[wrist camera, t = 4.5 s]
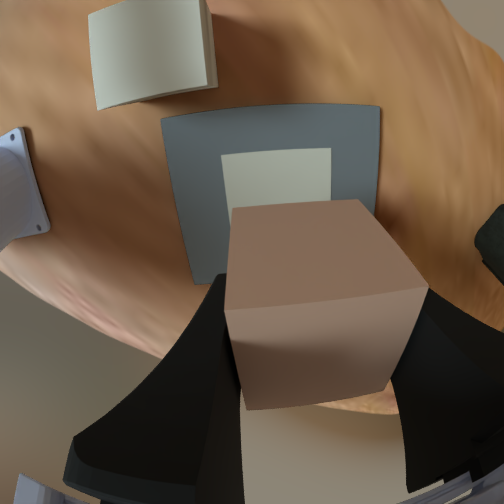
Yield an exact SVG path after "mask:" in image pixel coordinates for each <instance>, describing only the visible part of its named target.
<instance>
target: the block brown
mask: <svg viewBox="0 0 504 504" xmlns="http://www.w3.org/2000/svg"><path fill="white" fill-rule="evenodd" d="M428 288H429V285H428V283H427V282H426V281H425V279H424V278H423V277H422V275H421V274H420V273H419V271H418V270H417V269H416V267H415V266H414V265H413V263H412V262H411V261H410V260H409V258H408V257H407V256H406V254H405V253H404V252H403V251H402V249H401V248H400V247H399V246H398V245H397V243H396V242H395V241H394V240H393V238H392V237H391V236H390V235H389V234H388V232H387V231H386V230H385V229H384V228H383V227H382V225H381V224H380V223H379V222H378V221H377V220H376V218H375V217H374V216H373V215H372V214H371V213H370V212H369V211H368V209H367V208H366V207H365V206H364V205H363V204H362V203H361V202H360V201H359V200H358V199H350V200H330V201H313V202H298V203H284V204H271V205H259V206H247V207H236V208H232V218H231V229H230V241H229V253H228V265H227V278H226V292H225V306H224V312H225V316H226V321H227V326H228V331H229V335H230V340H231V345H232V349H233V354H234V358H235V363H236V367H237V371H238V376H239V380H240V384H241V389H242V393H243V397H244V401H245V405H246V409H247V410H263V409H275V408H285V407H295V406H303V405H310V404H318V403H324V402H331V401H337V400H342V399H347V398H353V397H358V396H362V395H367V394H371V393H376V392H380V391H384V389H385V387H386V385H387V383H388V381H389V380H390V378H391V376H392V374H393V372H394V370H395V368H396V366H397V364H398V361H399V359H400V357H401V355H402V353H403V351H404V349H405V346H406V344H407V342H408V340H409V337H410V335H411V333H412V330H413V328H414V325H415V323H416V320H417V318H418V315H419V313H420V310H421V307H422V305H423V302H424V299H425V297H426V294H427V291H428Z"/></svg>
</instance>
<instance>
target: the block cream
mask: <svg viewBox="0 0 504 504" xmlns="http://www.w3.org/2000/svg"><path fill="white" fill-rule="evenodd" d="M88 21H89V41H90V54H91V65H92V74H93V82H94V90H95V97H96V104H97V110H102V109H106V108H111V107H116V106H121V105H126V104H131V103H137V102H142V101H146V100H150V99H154V98H159V97H164V96H168V95H174V94H179V93H184V92H190V91H196V90H203V89H210V88H217V87H219V85H218V76H217V67H216V57H215V47H214V37H213V27H212V17H211V12H210V10H209V7H208V5H207V3H206V1H205V0H126V1H123V2H120V3H117V4H114V5H112V6H109V7H106V8H104V9H101V10H99V11H96V12H94V13H92V14H89V15H88Z"/></svg>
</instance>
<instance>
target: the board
mask: <svg viewBox="0 0 504 504" xmlns="http://www.w3.org/2000/svg"><path fill="white" fill-rule="evenodd" d="M160 120H161V127H162V133H163V139H164V145H165V151H166V156H167V162H168V167H169V173H170V178H171V183H172V188H173V193H174V198H175V203H176V208H177V212H178V217H179V221H180V226H181V230H182V235H183V239H184V243H185V248H186V252H187V256H188V260H189V264H190V268H191V272H192V276H193V280H194V284H195V285H198V284H212V283H213V281H214V279H215V277H216V276H217V275H218V274H222V273H227V265H228V253H229V241H230V229H231V218H232V208H236V207H247V206H259V205H271V204H284V203H298V202H313V201H330V200H350V199H358V200H359V201H360V202H361V203H362V204H363V205H364V206H365V207H366V208H367V209H368V211H369V212H370V213H371V214H372V215H373V216H374V210H375V200H376V190H377V177H378V162H379V138H380V107H379V106H370V105H354V104H276V105H260V106H247V107H237V108H227V109H219V110H211V111H204V112H197V113H191V114H185V115H179V116H173V117H168V118H163V119H160Z"/></svg>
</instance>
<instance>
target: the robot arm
mask: <svg viewBox="0 0 504 504" xmlns="http://www.w3.org/2000/svg"><path fill="white" fill-rule="evenodd" d="M14 136H15V139H14ZM39 225H40V226H41V227H40V226H39ZM49 229H50V222H49V220H48V217H47V214H46V211H45V208H44V205H43V202H42V199H41V196H40V193H39V189H38V186H37V183H36V179H35V176H34V172H33V168H32V164H31V161H30V156H29V152H28V148H27V143H26V139H25V134H24V130H23V128H22V127H18V128H15V129H13V130H12V131H10V132H8V133H6V134H5V135H3V136H1V137H0V252H1V251H2V250H3V249H4V248H5V247H6V246H7V245H8V244H9V243H10V242H11V241H12V240H13V239H16V238H21V237H26V236H31V235H36V234H41V233H46V232H48V231H49ZM226 278H227V273H222V274H218V275H217V276H216V277H215V279H214V281H213V283H212V285H211V287H210V289H209V291H208V293H207V294H206V296H205V298H204V300H203V302H202V303H201V305H200V307H199V308H198V310H197V312H196V313H195V315H194V317H193V318H192V320H191V321H190V323H189V324H188V326H187V327H186V329H185V330H184V331H183V333H182V334H181V336H180V337H179V339H178V340H177V342H176V343H175V344H174V346H173V347H172V348H171V349H170V351H169V352H168V353H167V354H166V356H165V357H164V358H163V359H162V361H161V362H160V363H159V364H158V365H157V366H156V367H155V368H154V370H153V371H152V372H151V373H150V374H149V375H148V376H147V377H146V378H145V379H144V380H143V381H142V382H141V383H140V384H139V385H138V386H137V387H136V388H135V389H134V390H133V391H132V392H131V393H130V394H129V395H128V396H126V397H125V398H124V399H123V400H122V401H121V402H120V403H119V404H117V405H116V406H115V407H114V408H113V409H112V410H111V411H109V412H108V413H107V414H106V415H104V416H103V417H102V418H100V419H99V420H97V421H96V422H95V423H93V424H92V425H90V426H89V427H88V428H86V429H85V430H83V431H82V432H80V433H79V434H77V435H76V436H74V437H73V440H72V443H71V446H70V450H69V454H68V458H67V462H66V467H65V471H64V476H63V481H64V483H65V484H66V485H67V486H69V487H72V488H74V489H76V490H78V491H80V492H83V493H85V494H88V495H90V496H93V497H96V498H98V499H101V502H100V504H245V499H244V486H243V471H242V454H241V432H240V394H241V393H240V392H241V384H240V380H239V376H238V371H237V367H236V363H235V358H234V354H233V349H232V345H231V340H230V335H229V331H228V326H227V321H226V316H225V312H224V306H225V292H226ZM390 379H391V382H392V385H393V389H394V393H395V397H396V401H397V405H398V409H399V415H400V419H401V425H402V431H403V439H404V446H405V459H406V486H407V490H408V493H412V492H415V491H417V490H420V489H422V488H424V487H427V486H429V485H431V484H433V483H436V482H438V481H440V480H442V479H443V480H444V484H443V485H441V486H439V487H437V488H435V489H432V490H430V491H428V492H426V493H423V494H421V495H418V496H416V497H414V498H411V499H408V500H406V501H403V502H400V503H398V504H444V503H446V502H448V501H450V500H452V499H453V498H455V497H457V496H459V495H461V494H463V493H464V492H466V491H468V490H469V489H471V488H472V491H471V493H470V494H469V495H467V496H464V497H462V498H460V499H458V500H455V501H454V502H451V503H449V504H504V333H502V332H500V331H498V330H496V329H494V328H492V327H490V326H488V325H486V324H484V323H482V322H481V321H479V320H477V319H475V318H474V317H472V316H470V315H469V314H467V313H465V312H464V311H462V310H460V309H459V308H457V307H456V306H454V305H453V304H451V303H450V302H448V301H447V300H445V299H444V298H442V297H441V296H440V295H438V294H437V293H435V292H434V291H433V290H431V289H430V288H428V291H427V294H426V297H425V299H424V302H423V305H422V307H421V310H420V313H419V315H418V318H417V320H416V323H415V325H414V328H413V330H412V333H411V335H410V337H409V340H408V342H407V344H406V346H405V349H404V351H403V353H402V355H401V357H400V359H399V361H398V364H397V366H396V368H395V370H394V372H393V374H392V376H391V378H390ZM13 504H90V503H87V502H84V501H81V500H79V499H76V498H74V497H71V496H69V495H66V494H63V493H62V492H59V491H57V490H55V489H53V488H50V487H48V486H46V485H44V484H42V483H40V482H38V481H36V480H34V479H32V478H30V477H28V476H27V475H25V474H23V473H20V474H19V479H18V483H17V488H16V493H15V498H14V503H13Z"/></svg>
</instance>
